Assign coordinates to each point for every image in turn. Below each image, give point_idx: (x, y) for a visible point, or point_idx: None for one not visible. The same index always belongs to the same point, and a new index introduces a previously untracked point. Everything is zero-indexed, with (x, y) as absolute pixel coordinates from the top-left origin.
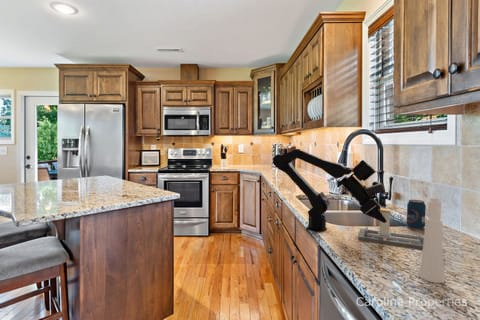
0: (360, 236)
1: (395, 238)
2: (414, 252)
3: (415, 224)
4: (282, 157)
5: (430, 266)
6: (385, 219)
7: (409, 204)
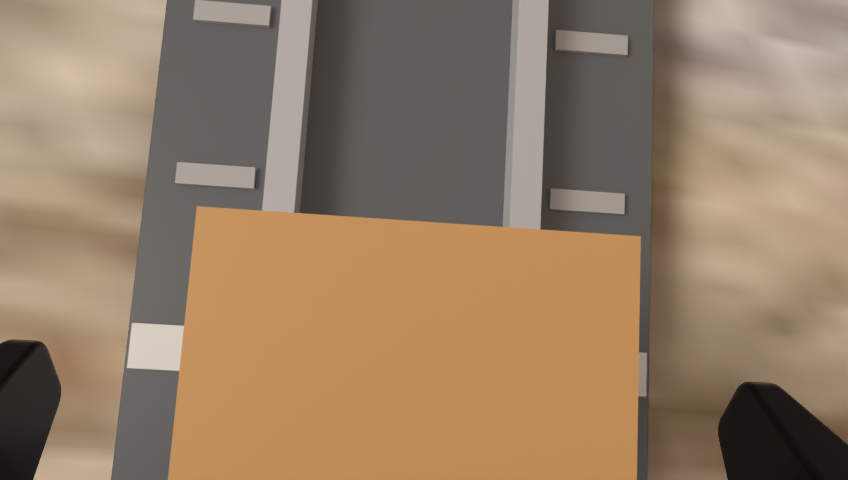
0: None
1: (535, 215)
2: (797, 55)
3: None
4: None
5: None
6: (815, 423)
7: None
